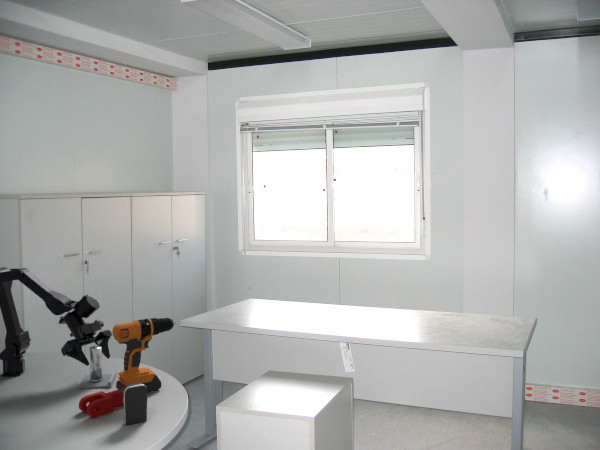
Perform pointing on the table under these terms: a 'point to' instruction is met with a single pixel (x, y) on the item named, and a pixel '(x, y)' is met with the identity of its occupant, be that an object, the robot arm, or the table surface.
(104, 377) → the bracket
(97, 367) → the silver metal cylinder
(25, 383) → the table surface
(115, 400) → the mechanical linkage
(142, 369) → the power drill
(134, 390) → the battery charger
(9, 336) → the robot arm
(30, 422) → the table surface
